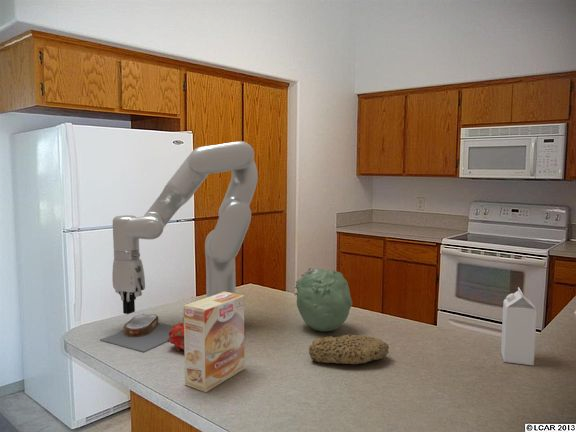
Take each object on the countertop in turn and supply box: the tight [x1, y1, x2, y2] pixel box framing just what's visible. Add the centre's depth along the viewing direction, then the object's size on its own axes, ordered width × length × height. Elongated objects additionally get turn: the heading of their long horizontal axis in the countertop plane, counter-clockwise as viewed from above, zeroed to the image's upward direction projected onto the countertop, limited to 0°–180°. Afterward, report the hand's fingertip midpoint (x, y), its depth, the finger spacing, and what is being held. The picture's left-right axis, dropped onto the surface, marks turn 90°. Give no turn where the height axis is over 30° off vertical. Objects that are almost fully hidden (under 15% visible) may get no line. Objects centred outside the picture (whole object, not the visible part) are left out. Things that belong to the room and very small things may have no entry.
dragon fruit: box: [167, 321, 184, 352], centre depth 129 cm, size 8×8×12 cm
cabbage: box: [293, 267, 353, 332], centre depth 144 cm, size 16×19×20 cm
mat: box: [99, 321, 174, 353], centre depth 140 cm, size 18×20×1 cm
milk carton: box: [500, 286, 538, 366], centre depth 122 cm, size 7×7×19 cm
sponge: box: [308, 334, 390, 365], centre depth 122 cm, size 13×8×20 cm
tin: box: [123, 313, 159, 337], centre depth 145 cm, size 15×3×8 cm
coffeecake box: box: [183, 292, 246, 393], centre depth 111 cm, size 15×7×20 cm, turn 148°
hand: (129, 312), depth 143 cm, fingers closed
